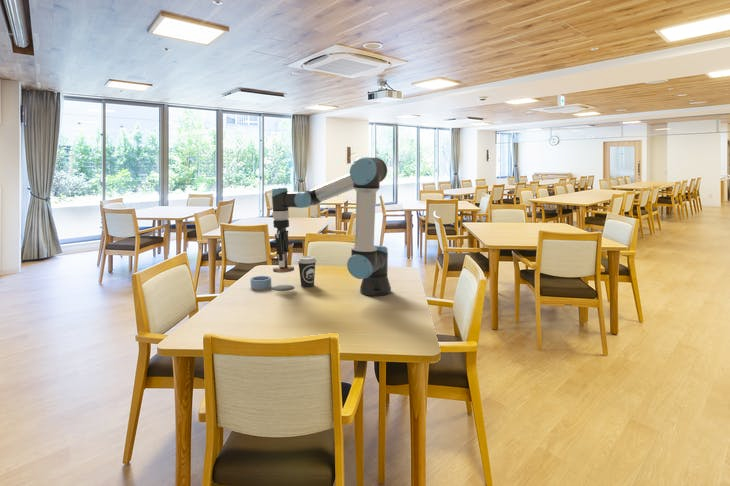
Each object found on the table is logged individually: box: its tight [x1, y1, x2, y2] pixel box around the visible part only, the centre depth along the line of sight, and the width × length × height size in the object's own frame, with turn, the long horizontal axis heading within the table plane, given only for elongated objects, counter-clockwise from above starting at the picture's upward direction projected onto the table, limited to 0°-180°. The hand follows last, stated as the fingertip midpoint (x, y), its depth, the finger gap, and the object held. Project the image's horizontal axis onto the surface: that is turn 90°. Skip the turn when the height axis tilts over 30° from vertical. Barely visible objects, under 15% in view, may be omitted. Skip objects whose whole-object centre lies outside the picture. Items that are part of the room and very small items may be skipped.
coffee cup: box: [297, 255, 317, 288], centre depth 240 cm, size 10×10×15 cm
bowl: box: [249, 275, 272, 291], centre depth 237 cm, size 10×10×5 cm
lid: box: [272, 252, 295, 274], centre depth 234 cm, size 10×10×9 cm
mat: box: [271, 284, 295, 292], centre depth 236 cm, size 11×11×1 cm
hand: (283, 265), depth 234 cm, fingers closed on lid, 4 cm apart
